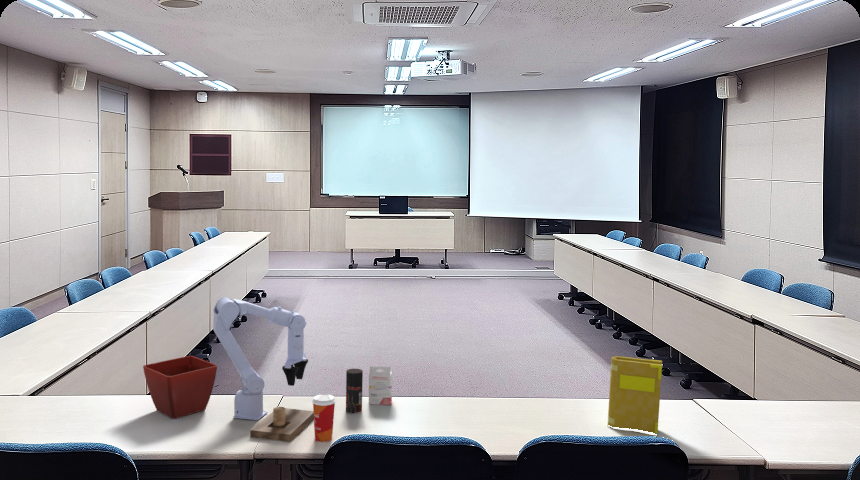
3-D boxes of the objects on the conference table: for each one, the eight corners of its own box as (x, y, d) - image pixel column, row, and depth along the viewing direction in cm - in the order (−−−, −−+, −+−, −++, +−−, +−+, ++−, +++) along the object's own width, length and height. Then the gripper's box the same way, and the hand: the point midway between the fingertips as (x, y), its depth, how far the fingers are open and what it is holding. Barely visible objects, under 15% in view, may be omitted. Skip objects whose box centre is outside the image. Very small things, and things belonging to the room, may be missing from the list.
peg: (270, 433, 225) (271, 410, 224) (276, 428, 229) (276, 406, 228) (282, 434, 224) (282, 411, 223) (287, 430, 228) (287, 407, 227)
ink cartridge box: (391, 400, 260) (392, 363, 259) (390, 405, 255) (391, 367, 254) (369, 399, 261) (370, 362, 259) (368, 404, 256) (368, 366, 254)
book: (657, 429, 238) (662, 360, 236) (657, 436, 232) (662, 365, 229) (608, 422, 244) (612, 355, 241) (606, 429, 237) (610, 359, 235)
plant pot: (142, 410, 243) (141, 364, 241) (191, 397, 257) (191, 354, 255) (168, 424, 230) (168, 376, 228) (218, 410, 244) (218, 365, 243)
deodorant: (359, 414, 245) (359, 374, 243) (343, 412, 246) (344, 372, 245) (363, 408, 251) (364, 369, 249) (348, 406, 252) (349, 368, 250)
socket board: (250, 437, 221) (250, 430, 221) (278, 414, 243) (278, 407, 242) (290, 441, 218) (290, 434, 218) (314, 418, 240) (314, 411, 240)
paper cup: (312, 434, 225) (313, 393, 224) (335, 434, 226) (336, 393, 225) (310, 443, 218) (311, 401, 216) (334, 443, 218) (335, 401, 217)
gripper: (298, 351, 237) (297, 389, 239) (313, 341, 252) (312, 377, 253) (279, 350, 239) (279, 387, 240) (295, 340, 253) (295, 375, 254)
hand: (295, 382), depth 247 cm, fingers open, 7 cm apart
